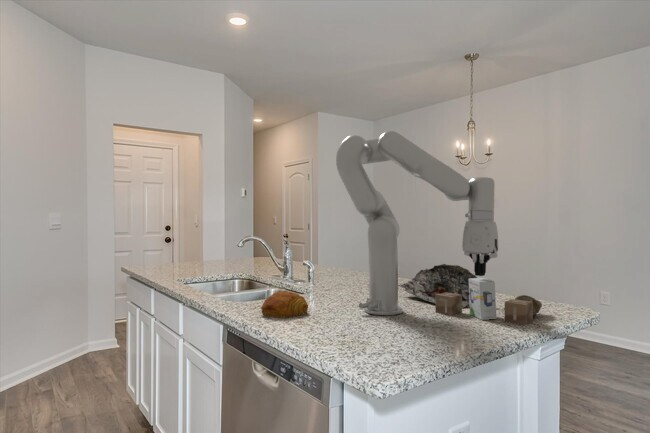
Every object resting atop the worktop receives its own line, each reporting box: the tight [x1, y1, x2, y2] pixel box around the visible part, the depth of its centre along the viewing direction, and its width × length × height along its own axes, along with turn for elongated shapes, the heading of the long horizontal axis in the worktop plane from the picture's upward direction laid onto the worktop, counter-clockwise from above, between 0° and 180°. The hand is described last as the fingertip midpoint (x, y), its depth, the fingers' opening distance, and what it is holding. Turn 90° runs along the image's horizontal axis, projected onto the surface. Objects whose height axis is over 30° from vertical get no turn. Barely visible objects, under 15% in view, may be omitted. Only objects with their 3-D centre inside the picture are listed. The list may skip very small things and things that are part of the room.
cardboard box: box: [435, 292, 463, 317], centre depth 136 cm, size 6×6×6 cm
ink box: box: [468, 277, 497, 321], centre depth 131 cm, size 9×5×12 cm, turn 5°
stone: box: [503, 294, 543, 316], centre depth 132 cm, size 13×8×8 cm
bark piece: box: [398, 263, 478, 309], centre depth 157 cm, size 19×8×30 cm
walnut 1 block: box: [504, 298, 534, 326], centre depth 124 cm, size 6×6×6 cm
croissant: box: [260, 291, 309, 318], centre depth 137 cm, size 14×16×8 cm
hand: (479, 275), depth 131 cm, fingers closed
